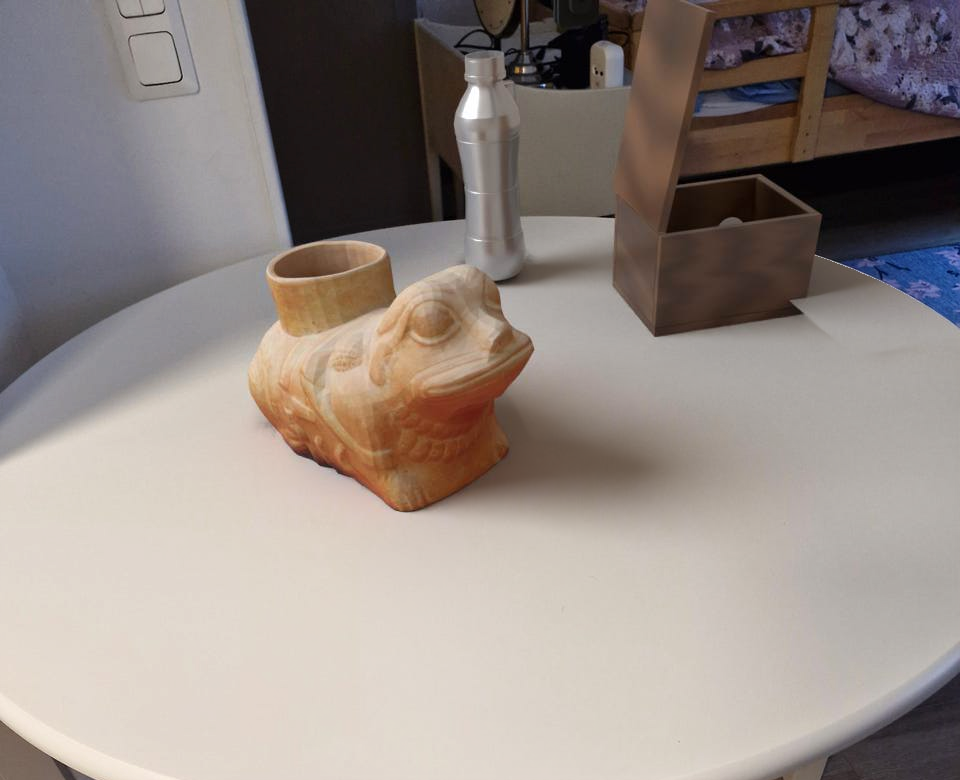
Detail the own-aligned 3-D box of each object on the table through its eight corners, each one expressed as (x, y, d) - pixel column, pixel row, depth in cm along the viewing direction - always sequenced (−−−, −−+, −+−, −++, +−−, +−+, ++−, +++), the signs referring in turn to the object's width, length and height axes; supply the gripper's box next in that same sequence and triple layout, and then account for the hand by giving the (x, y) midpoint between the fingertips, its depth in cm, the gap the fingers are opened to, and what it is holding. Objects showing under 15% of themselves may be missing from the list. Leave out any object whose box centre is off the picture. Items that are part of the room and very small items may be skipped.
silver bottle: (537, 269, 95) (533, 48, 82) (506, 292, 91) (496, 64, 78) (485, 260, 98) (473, 45, 84) (453, 283, 94) (434, 61, 80)
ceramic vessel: (447, 550, 60) (423, 337, 50) (227, 429, 74) (173, 243, 64) (578, 463, 67) (580, 260, 57) (354, 367, 81) (323, 191, 71)
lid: (658, -11, 75) (649, -12, 74) (717, 12, 65) (707, 11, 65) (619, 188, 85) (611, 188, 85) (666, 232, 76) (657, 231, 75)
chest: (747, 265, 92) (760, 173, 86) (803, 313, 83) (822, 214, 77) (612, 285, 91) (615, 193, 85) (654, 336, 82) (661, 237, 76)
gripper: (680, -338, 52) (654, 36, 65) (603, -311, 63) (594, 5, 76) (555, -331, 51) (554, 46, 64) (500, -305, 62) (507, 13, 75)
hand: (575, 23), depth 70 cm, fingers closed
